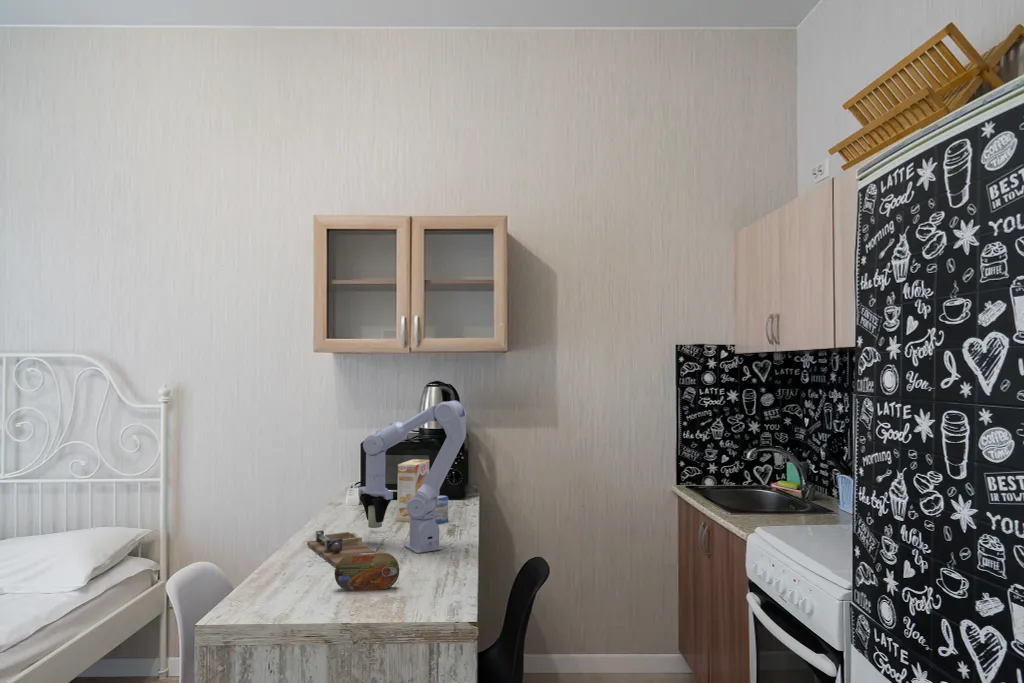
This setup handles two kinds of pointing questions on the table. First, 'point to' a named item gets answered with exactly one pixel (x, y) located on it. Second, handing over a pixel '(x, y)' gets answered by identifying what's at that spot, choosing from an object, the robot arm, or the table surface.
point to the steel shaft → (331, 544)
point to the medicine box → (441, 510)
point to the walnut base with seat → (349, 546)
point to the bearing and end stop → (327, 541)
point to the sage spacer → (372, 518)
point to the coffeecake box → (409, 484)
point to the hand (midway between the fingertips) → (375, 520)
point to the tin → (367, 571)
